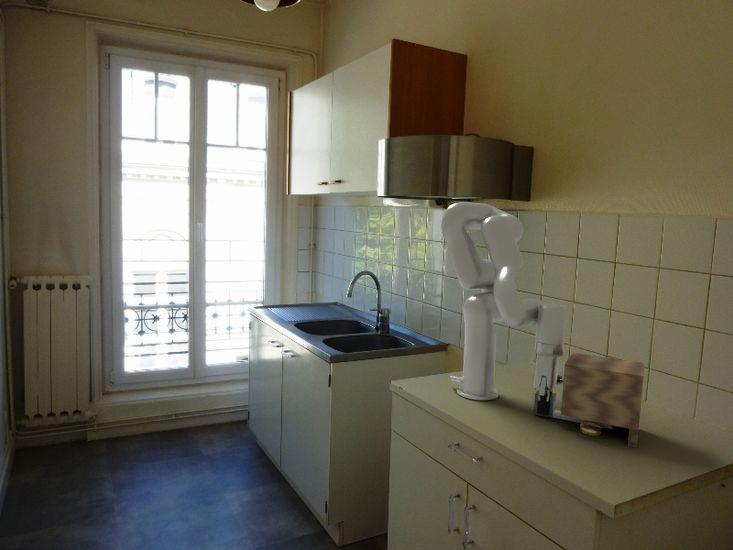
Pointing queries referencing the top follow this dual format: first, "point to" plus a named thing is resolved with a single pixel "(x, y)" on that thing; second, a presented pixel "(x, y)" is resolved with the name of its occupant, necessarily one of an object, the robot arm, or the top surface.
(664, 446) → the top surface
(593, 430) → the token
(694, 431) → the top surface
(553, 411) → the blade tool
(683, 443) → the top surface
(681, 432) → the top surface
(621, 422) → the cabinet
